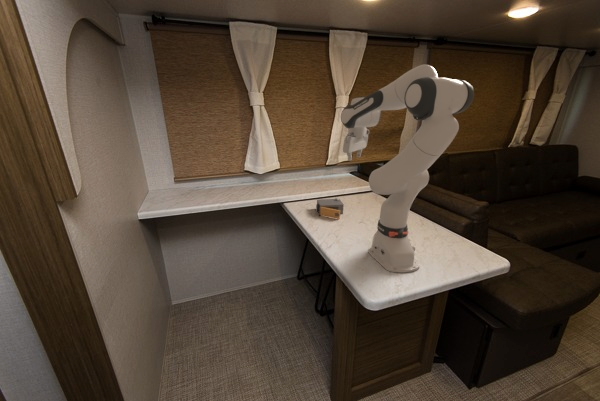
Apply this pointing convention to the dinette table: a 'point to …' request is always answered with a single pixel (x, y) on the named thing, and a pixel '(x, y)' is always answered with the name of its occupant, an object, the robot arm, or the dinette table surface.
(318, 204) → the camera block
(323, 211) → the side door
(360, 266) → the dinette table surface
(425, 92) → the robot arm
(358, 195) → the dinette table surface
